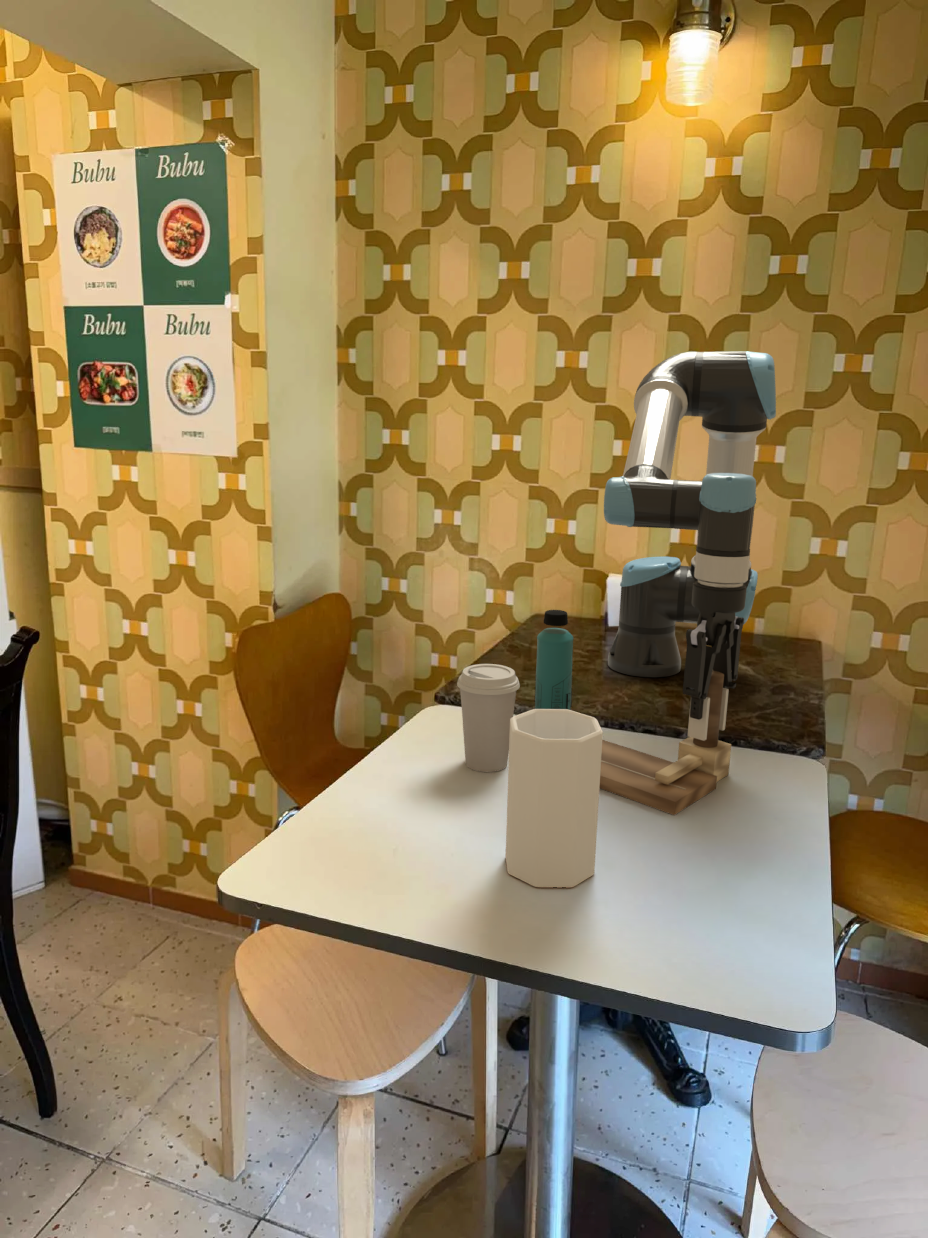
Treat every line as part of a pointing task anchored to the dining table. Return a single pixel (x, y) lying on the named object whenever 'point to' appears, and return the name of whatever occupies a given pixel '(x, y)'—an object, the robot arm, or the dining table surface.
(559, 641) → the beverage bottle
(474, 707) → the coffee cup
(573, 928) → the dining table surface
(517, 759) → the cup
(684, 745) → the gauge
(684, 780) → the board
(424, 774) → the dining table surface
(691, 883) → the dining table surface
